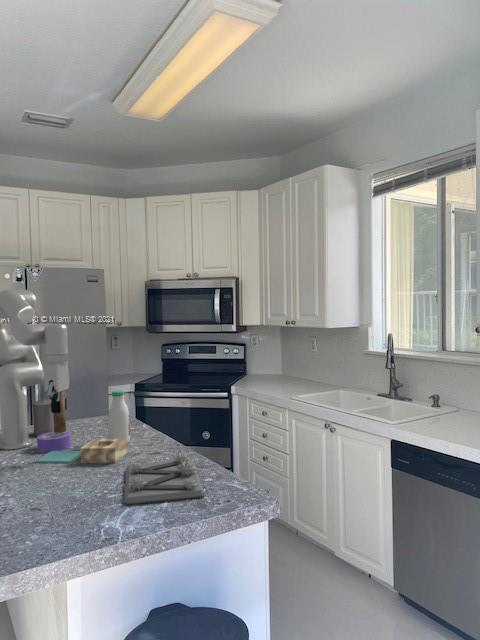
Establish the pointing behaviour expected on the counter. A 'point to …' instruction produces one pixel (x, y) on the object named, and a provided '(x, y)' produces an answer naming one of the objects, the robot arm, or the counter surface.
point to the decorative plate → (162, 481)
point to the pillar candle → (42, 417)
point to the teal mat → (59, 457)
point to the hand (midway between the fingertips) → (59, 410)
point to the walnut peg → (60, 415)
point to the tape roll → (53, 441)
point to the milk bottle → (119, 418)
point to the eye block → (103, 451)
